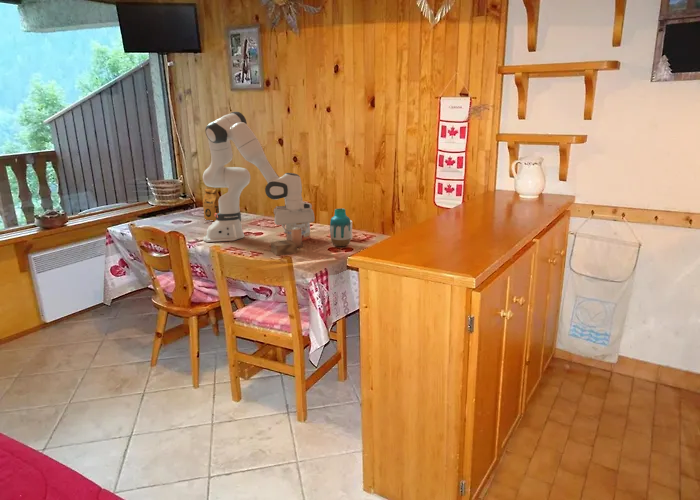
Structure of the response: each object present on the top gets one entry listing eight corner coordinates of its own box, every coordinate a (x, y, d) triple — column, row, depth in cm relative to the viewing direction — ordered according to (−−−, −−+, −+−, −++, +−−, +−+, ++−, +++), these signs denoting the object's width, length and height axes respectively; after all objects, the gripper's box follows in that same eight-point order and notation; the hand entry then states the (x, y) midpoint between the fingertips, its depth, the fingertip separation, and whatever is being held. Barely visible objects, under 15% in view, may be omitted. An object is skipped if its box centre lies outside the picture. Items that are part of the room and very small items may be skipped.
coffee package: (214, 225, 325) (211, 190, 320) (202, 223, 333) (199, 189, 328) (226, 222, 333) (224, 189, 328) (215, 220, 341) (212, 187, 335)
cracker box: (295, 244, 270) (293, 204, 264) (286, 242, 273) (284, 204, 268) (311, 238, 281) (309, 201, 276) (302, 237, 284) (300, 200, 279)
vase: (332, 243, 269) (331, 207, 264) (352, 243, 268) (351, 207, 263) (329, 248, 258) (328, 211, 254) (350, 248, 257) (349, 210, 253)
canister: (293, 247, 261) (292, 229, 259) (291, 245, 266) (290, 227, 264) (303, 246, 263) (302, 228, 261) (300, 244, 268) (299, 226, 265)
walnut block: (277, 256, 247) (276, 246, 246) (271, 251, 256) (270, 242, 255) (296, 253, 251) (296, 243, 250) (290, 249, 260) (289, 239, 259)
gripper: (274, 207, 252) (276, 234, 255) (314, 204, 258) (315, 231, 261) (272, 205, 258) (273, 232, 261) (311, 203, 264) (312, 229, 267)
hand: (295, 232), depth 261 cm, fingers open, 8 cm apart
